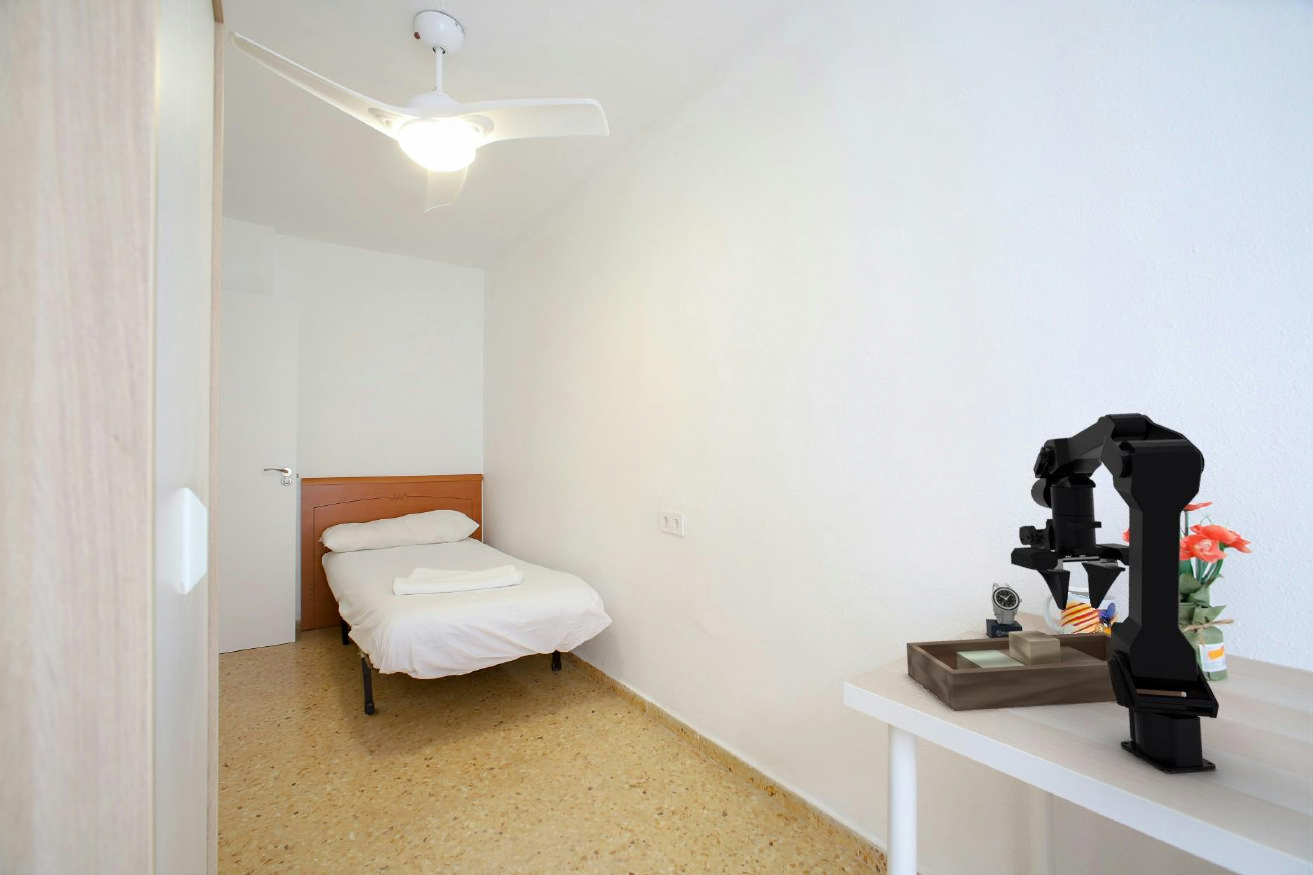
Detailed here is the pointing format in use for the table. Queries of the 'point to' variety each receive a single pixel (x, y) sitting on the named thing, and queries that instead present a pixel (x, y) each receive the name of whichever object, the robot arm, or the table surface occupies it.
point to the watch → (1003, 611)
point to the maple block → (1034, 647)
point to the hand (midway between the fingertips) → (1078, 608)
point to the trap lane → (1014, 673)
